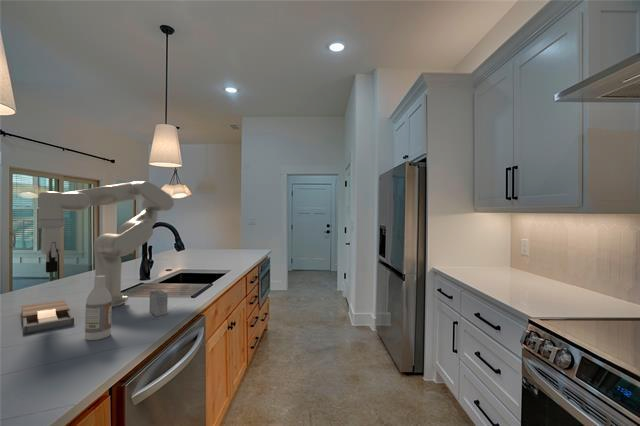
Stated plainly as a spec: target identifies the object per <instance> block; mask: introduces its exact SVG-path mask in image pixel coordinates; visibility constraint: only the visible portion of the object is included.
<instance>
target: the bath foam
mask: <svg viewBox="0 0 640 426" xmlns="http://www.w3.org/2000/svg"><path fill="white" fill-rule="evenodd" d="M93 286H94V288H93V289H92V290H91V291H90V293H89V294H88V296H87V297H86V302H85V316H84V317H85V321H84V323H85V324H84V340H87V341H98V340H99V341H100V340H103V339H105V338H108V337H109V336H111V332H112V311H113V309H112V308H113V307H112V297H111V294H110V292H109V291H108V290H107V288H106V287H105V276H104V275H101V276H95V275H94V283H93Z"/></svg>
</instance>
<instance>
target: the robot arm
mask: <svg viewBox="0 0 640 426" xmlns="http://www.w3.org/2000/svg"><path fill="white" fill-rule="evenodd" d="M136 200H143V201H142V207H141V211H140V212H139V213H138V214H137V215H135V216H134V217H132V218H131V219H128V220H127V221H126V222H124V223H123V224H121V225H120V226H119V228H118V229H117V233H103V234H101V235H99V236H97V237H96V239H95V240H94V243H93V253H94V256H95V270H94V271H95V273H94V274H95V275H94V277H95V276H101V275H104V276H105V287H106V288H107V290H108V291H109V292H110V294H111V297H112V308H115V307H119V306H121V305H123V304H124V303H125V302H128V299H129V295H128V296H127V295H125V296H124V293H123V292H121V290H122V266H123V265H122V257H125V256H128V255H129V254H131V253H133V252H134V251H136V250H137V249H139V248H140V247H141V246H143V245H144V244H145V243H147V242H148V241H149V240H150V239H151V238H152V236H153V233H154V229H153V228H154V227H153V226H154V225H155V224H156V223H157V221H158V212H166V211H170V210H171V209H172V208H173V207H174V203H175V202H174V199H173V197H172V196H171V195H170V194H169V193H167V191H164V190H163V189H161V188H160V187H158V185H156V184H154V183H152V182H150V181H147V180H143V181H142V180H141V181H131V182H123V183H117V184H110V185H104V186H98V187H92V188H87V189H78V190H73V191H67V192H59V191H41V192H39V194H38V222H37V223H38V226H37V227H38V229H41V236H40V241H41V242H40V253H41V254H42V255H44V256H45V257H46V258H45V260H46V261H45V272H46V273H57V272H58V255H59V254H60V253H61V249H62V248H61V245H62V229H64V228H65V227H66V226H65V225H66V224H65V223H66V218H65V216H66V215H65V214H66V211H67V212H69V211H71V212H78V211H79V212H81V211H85V210H87V209H89V208H90V207H92V206H93V207H95V206H108V205H109V206H111V205H116V204H121V203H126V202H129V201H131V202H132V201H136Z"/></svg>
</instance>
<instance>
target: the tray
mask: <svg viewBox="0 0 640 426" xmlns="http://www.w3.org/2000/svg"><path fill="white" fill-rule="evenodd" d="M57 318H58V320H57V321H51V322H46V323H40V324H38V323H37V321H32V322H27V319H26V317H25V318H23V323H22V327H23V328H22V329H23V335H28V334H32V333H33V334H34V333H40V332H45V331H50V330H55V329H60V328H65V327H70V326H71V327H72V326H74V325H75V316H74V315H73V314H72V312H71V310H69V311H67V316H62V317H57Z"/></svg>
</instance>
